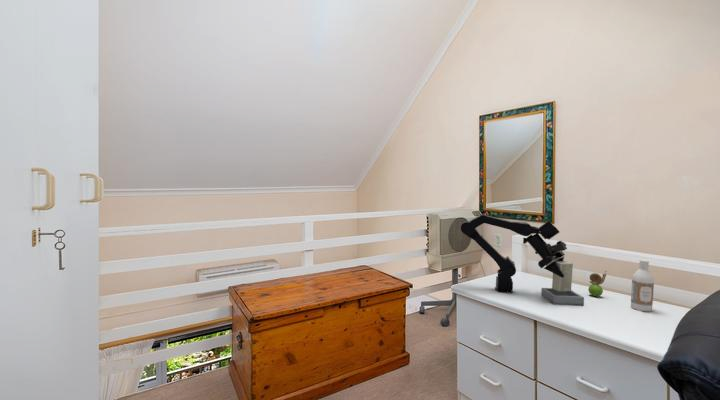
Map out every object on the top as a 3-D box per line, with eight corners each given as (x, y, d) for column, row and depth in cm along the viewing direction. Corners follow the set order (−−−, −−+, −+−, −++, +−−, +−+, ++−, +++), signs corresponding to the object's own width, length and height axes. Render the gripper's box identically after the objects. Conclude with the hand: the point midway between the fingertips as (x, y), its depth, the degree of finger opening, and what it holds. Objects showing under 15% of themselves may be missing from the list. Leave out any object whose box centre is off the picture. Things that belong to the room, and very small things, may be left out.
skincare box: (564, 288, 157) (566, 260, 157) (571, 291, 153) (573, 263, 152) (551, 288, 156) (553, 260, 156) (558, 291, 152) (560, 263, 151)
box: (553, 304, 149) (554, 296, 149) (541, 295, 161) (541, 287, 161) (583, 305, 148) (584, 297, 148) (568, 296, 160) (569, 288, 160)
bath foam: (634, 310, 143) (637, 261, 142) (627, 305, 150) (630, 258, 149) (655, 313, 141) (658, 263, 140) (647, 307, 148) (650, 259, 147)
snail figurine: (605, 299, 157) (606, 272, 157) (588, 296, 161) (589, 270, 160) (604, 296, 162) (606, 269, 161) (588, 293, 165) (589, 267, 165)
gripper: (548, 237, 149) (576, 268, 142) (560, 233, 163) (587, 261, 156) (527, 252, 155) (553, 283, 148) (541, 247, 169) (566, 275, 162)
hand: (565, 275), depth 153 cm, fingers closed on skincare box, 7 cm apart
